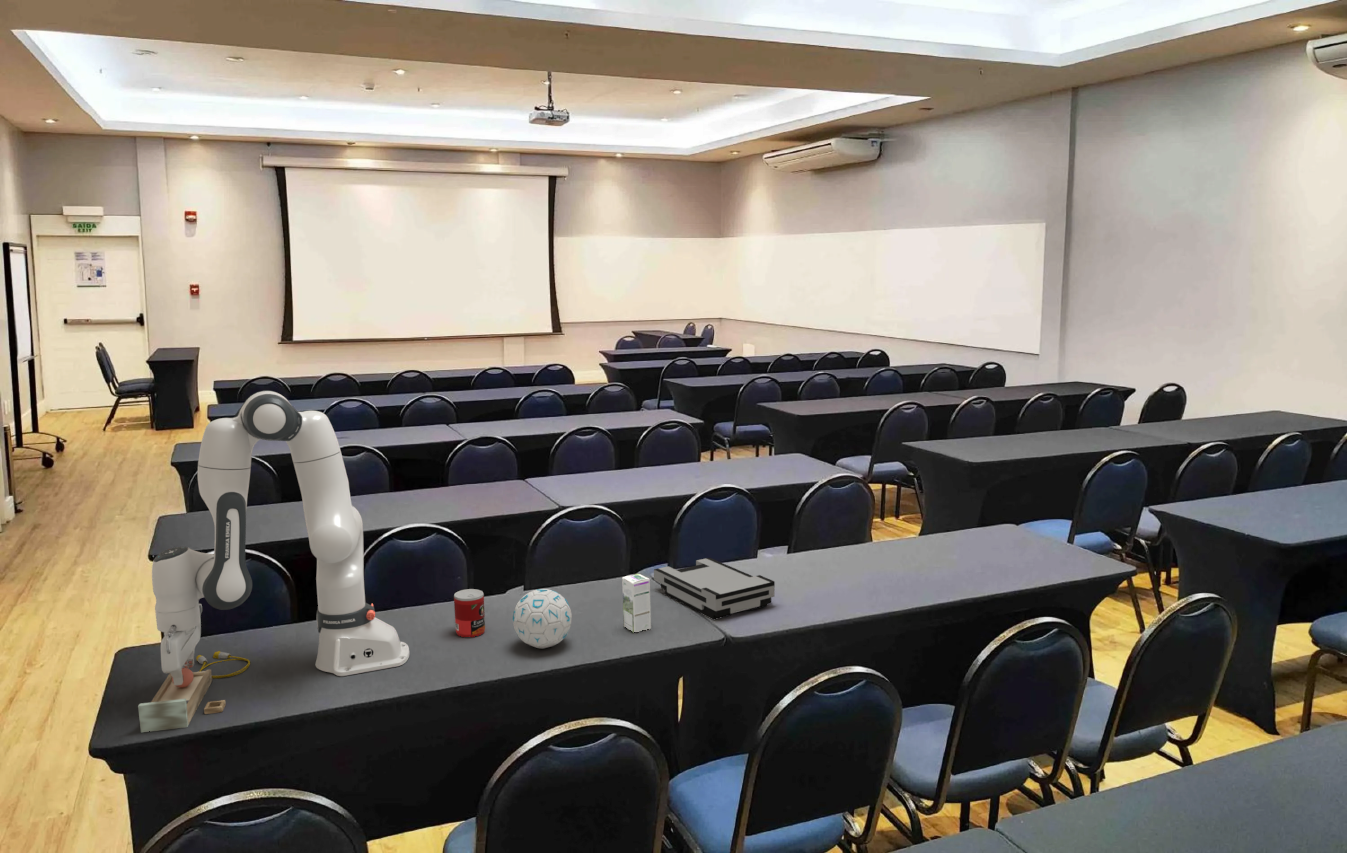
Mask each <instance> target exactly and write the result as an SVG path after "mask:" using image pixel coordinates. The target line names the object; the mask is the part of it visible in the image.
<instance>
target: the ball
mask: <svg viewBox="0 0 1347 853" xmlns="http://www.w3.org/2000/svg"><path fill="white" fill-rule="evenodd" d="M181 671H182V675H184V681H183V683H182V685H175V686H177V687H180V688H183V687H186V686H188V685H190V684H191V682H192V681H193V677H194V676H193V673H192V672H193V671H192V670H191V668H185V667H182V670H181ZM172 682H173V684H174V681H173V677H172Z"/></svg>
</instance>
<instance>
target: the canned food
mask: <svg viewBox="0 0 1347 853" xmlns="http://www.w3.org/2000/svg"><path fill="white" fill-rule="evenodd" d="M484 596H485V594H484V592H483V590H480V589H474V588H469V589H466V588H465V589H461V590H459V591H457V592H455V593H454V595H453V603H454V604H453V607H454V623H455V625H454V626H455V632H456V634H457V636H458V637H460V636H461V638H465V637H471V638H476V637H475V636H477V637H479V635H480V636H482V635H483V634H484V633H485V631H486V618H485V616H486V615H485V614H486V613H485V597H484ZM481 634H482V635H481Z"/></svg>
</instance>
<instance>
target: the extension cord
mask: <svg viewBox="0 0 1347 853" xmlns="http://www.w3.org/2000/svg"><path fill="white" fill-rule="evenodd" d="M212 655H213V656H212V658H213V659H215V660H216V659H217V660H218V659H219V661H217V660H216V661H213V662H211V663H208V659H207V657H205V656H204V655H202V654H198V655H197V656H196V657H195V659H196V662H197V661H198V662H199V664H200V665H202V666H201V667H200V669H199V671H198V672H201V671H204V669H205V668H207V667H208V666H210V665H214V664H218V662H219V663H223V662H222V661H224V662H229V661H246V662H247V664H246V665H245V666H244V667H242V668H240V669H239V670H237V671H233V672H231V673H228V674H222V675H212V679H224V678H229V677H234V676H237V675H240V674H242V673H244V672H245V671H246V670H247V669H248V668H249V667H250V665H251V661H250V660H249V659H248V658H244V657H240V656H233V655H231V653H228V652H224V651H221V650H217V651H214V652H213V654H212ZM198 662H197V663H198Z"/></svg>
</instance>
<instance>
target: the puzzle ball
mask: <svg viewBox="0 0 1347 853" xmlns="http://www.w3.org/2000/svg"><path fill="white" fill-rule="evenodd" d="M572 616H573V614H572V610H571V607H570V605H569V602H568V600H567V599H566V598H565V597H564V596H563V595H562V594H560V593H559V592H558V591H555V590H553V589H552V590H551V589H548V588H538V589H535V590H534V589H533V590H531V591H530V592H527V593H526V594H524V595H523V596H522V597H521V598H520V599H519V601H518V602H517V603H516V605H515V608H514V610H513V614H512V624H513V628H514V629H513V630H514V631H515V632H516V635H517V636H518V638H519V639H520V640H521V642H523V643H525V644H527V645H529V646H531V647H534V648H535V649H536V648H537V649H547V648H550V647H554V646H556V645H557V644H560V643H561V642H562V641H563V640H564V639H565V638H566V637H567V635H568V633H569V631H570V628H571V626H572Z"/></svg>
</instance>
